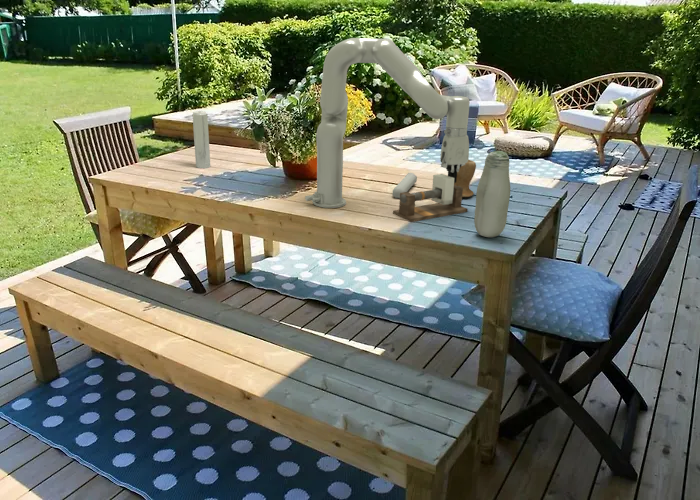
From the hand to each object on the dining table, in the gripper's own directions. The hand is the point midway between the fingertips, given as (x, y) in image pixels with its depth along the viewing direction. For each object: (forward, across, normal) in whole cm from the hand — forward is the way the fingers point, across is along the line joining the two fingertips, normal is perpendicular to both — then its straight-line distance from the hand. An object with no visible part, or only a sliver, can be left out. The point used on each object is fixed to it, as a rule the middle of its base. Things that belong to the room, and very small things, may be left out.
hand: (451, 182), depth 224 cm
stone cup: (+11, +16, +15) cm, 24 cm away
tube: (+11, 0, +28) cm, 30 cm away
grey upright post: (+11, -58, +105) cm, 120 cm away
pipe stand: (+10, -9, 0) cm, 14 cm away
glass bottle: (+11, -8, -29) cm, 32 cm away
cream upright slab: (+7, -4, 0) cm, 8 cm away
